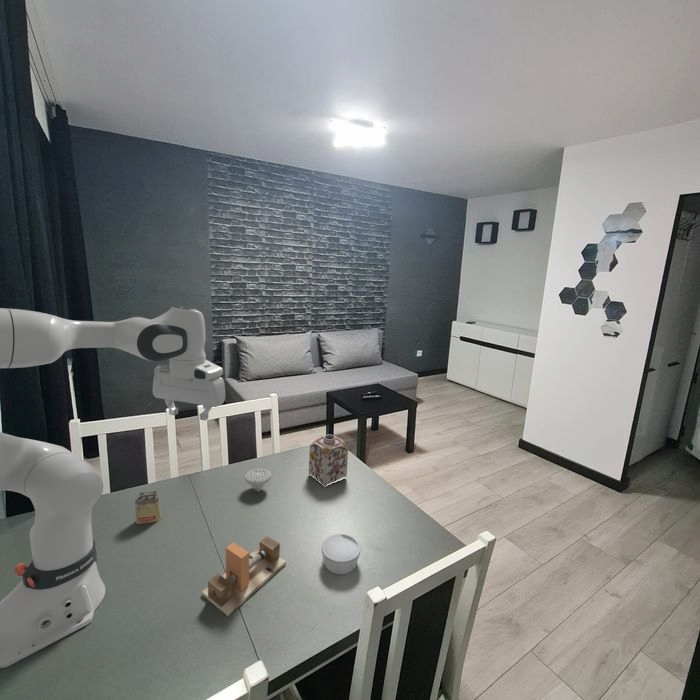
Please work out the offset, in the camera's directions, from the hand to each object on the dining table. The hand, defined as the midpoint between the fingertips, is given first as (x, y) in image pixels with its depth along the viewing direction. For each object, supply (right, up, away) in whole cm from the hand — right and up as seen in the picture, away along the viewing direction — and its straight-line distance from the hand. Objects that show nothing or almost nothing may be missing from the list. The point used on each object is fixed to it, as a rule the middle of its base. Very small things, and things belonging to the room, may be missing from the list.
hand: (188, 416), depth 98 cm
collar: (+14, -43, -4) cm, 45 cm away
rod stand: (+16, -43, -1) cm, 46 cm away
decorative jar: (+35, -35, +50) cm, 70 cm away
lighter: (-22, -37, +19) cm, 47 cm away
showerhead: (+9, -35, +38) cm, 53 cm away
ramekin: (+41, -44, +7) cm, 61 cm away
